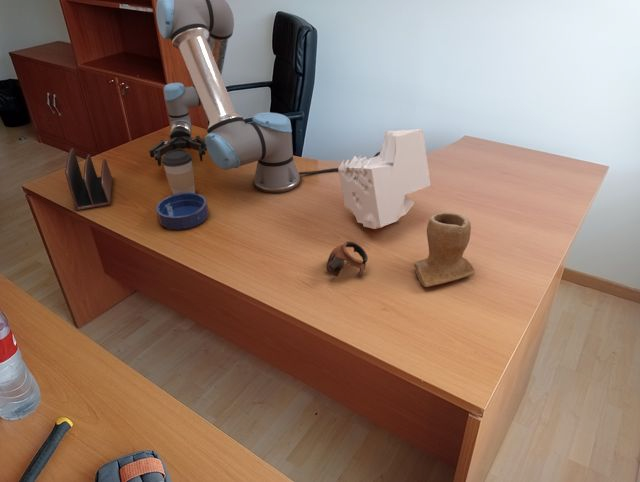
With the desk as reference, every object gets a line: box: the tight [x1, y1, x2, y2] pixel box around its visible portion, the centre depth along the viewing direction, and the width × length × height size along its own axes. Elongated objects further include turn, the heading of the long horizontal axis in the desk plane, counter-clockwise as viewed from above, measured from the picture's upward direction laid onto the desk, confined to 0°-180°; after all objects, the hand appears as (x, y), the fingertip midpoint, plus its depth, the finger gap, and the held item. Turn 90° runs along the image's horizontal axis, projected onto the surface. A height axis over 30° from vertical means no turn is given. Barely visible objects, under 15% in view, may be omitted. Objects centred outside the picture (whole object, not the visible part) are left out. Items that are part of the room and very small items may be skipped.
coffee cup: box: [161, 148, 196, 195], centre depth 154 cm, size 9×9×15 cm
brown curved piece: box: [325, 241, 369, 277], centre depth 121 cm, size 12×10×8 cm
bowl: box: [155, 192, 210, 231], centre depth 145 cm, size 15×15×4 cm
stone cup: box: [413, 212, 475, 288], centre depth 117 cm, size 15×12×15 cm
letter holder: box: [64, 147, 113, 211], centre depth 157 cm, size 10×20×14 cm, turn 17°
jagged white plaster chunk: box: [337, 128, 431, 230], centre depth 137 cm, size 20×16×25 cm
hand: (179, 159), depth 161 cm, fingers open, 13 cm apart
